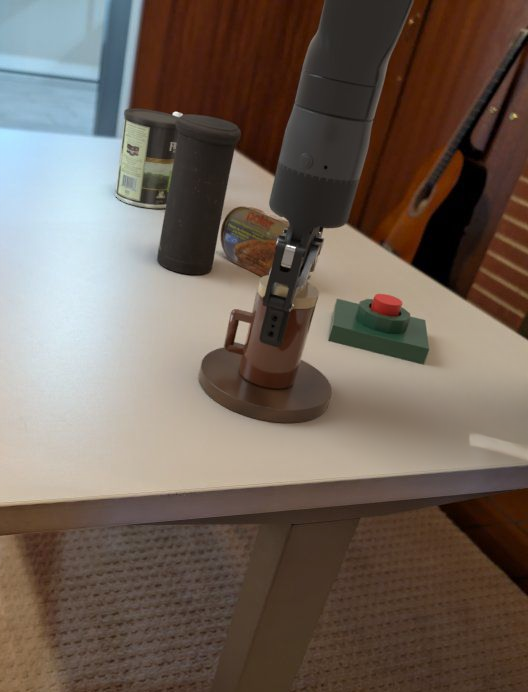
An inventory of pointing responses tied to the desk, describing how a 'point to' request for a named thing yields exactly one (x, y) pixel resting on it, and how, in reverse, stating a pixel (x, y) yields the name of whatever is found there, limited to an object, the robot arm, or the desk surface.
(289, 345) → the mug
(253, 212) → the tin
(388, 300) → the button
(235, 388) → the turntable
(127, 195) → the coffee can
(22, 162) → the desk surface
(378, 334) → the button block
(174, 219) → the container
